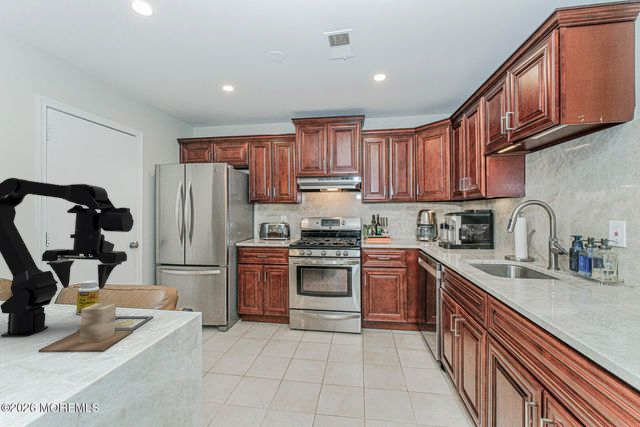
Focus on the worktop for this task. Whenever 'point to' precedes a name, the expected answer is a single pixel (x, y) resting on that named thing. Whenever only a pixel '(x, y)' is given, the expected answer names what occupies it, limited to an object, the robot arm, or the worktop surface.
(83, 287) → the supplement bottle
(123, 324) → the mat
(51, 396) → the worktop surface
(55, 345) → the board
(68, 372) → the worktop surface
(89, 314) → the beige wooden block
